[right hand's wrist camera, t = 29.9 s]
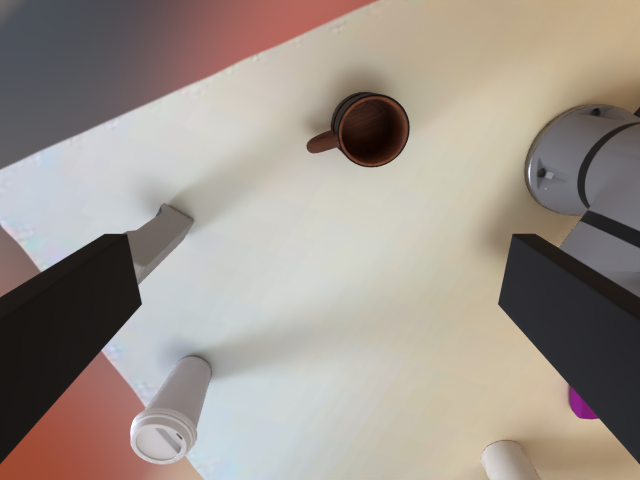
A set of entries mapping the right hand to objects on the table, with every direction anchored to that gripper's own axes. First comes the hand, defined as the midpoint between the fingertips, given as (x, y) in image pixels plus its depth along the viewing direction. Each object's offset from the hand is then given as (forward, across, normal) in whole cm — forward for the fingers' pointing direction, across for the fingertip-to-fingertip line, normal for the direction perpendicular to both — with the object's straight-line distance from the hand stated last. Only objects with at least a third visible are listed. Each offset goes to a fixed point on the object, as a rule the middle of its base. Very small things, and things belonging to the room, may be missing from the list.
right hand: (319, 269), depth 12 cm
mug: (+41, +4, +2) cm, 41 cm away
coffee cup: (+41, -23, -40) cm, 62 cm away
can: (+41, +37, -62) cm, 83 cm away
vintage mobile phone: (+41, -22, -12) cm, 48 cm away
